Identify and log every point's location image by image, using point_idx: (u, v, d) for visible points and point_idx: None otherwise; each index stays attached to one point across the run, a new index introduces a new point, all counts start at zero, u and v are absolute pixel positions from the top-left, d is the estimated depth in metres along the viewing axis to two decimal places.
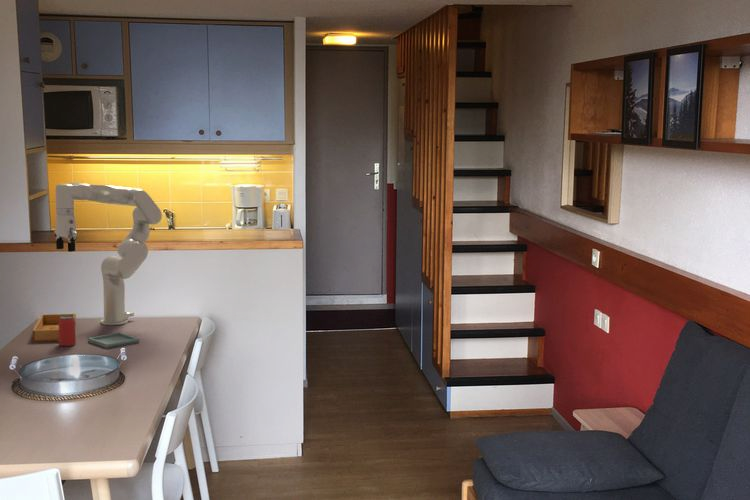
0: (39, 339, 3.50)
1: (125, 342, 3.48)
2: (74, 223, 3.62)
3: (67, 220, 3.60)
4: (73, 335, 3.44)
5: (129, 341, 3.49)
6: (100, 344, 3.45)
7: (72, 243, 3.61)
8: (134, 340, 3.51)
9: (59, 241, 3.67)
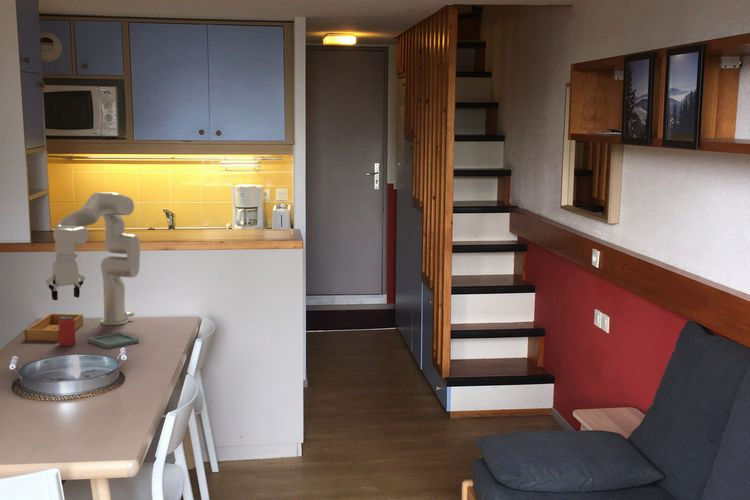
0: (31, 338, 3.51)
1: (125, 342, 3.48)
2: None
3: None
4: (73, 335, 3.44)
5: (129, 341, 3.49)
6: (100, 344, 3.45)
7: None
8: (134, 340, 3.51)
9: None
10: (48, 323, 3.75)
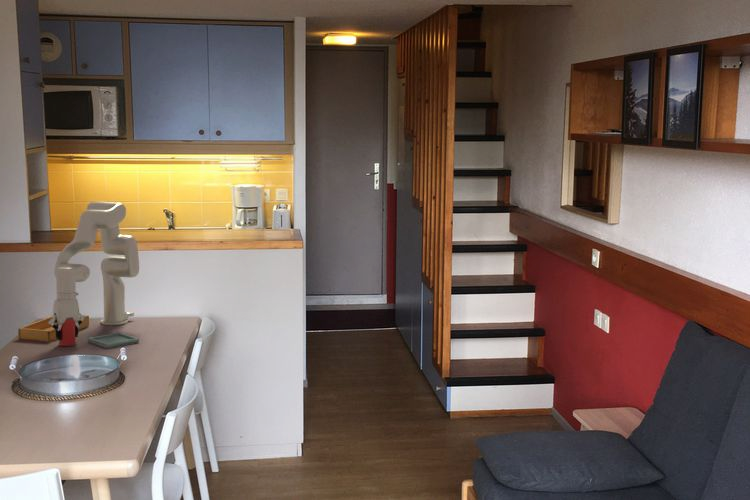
0: (24, 337, 3.52)
1: (125, 342, 3.48)
2: None
3: None
4: (73, 335, 3.44)
5: (129, 341, 3.49)
6: (100, 344, 3.45)
7: None
8: (134, 340, 3.51)
9: None
10: None
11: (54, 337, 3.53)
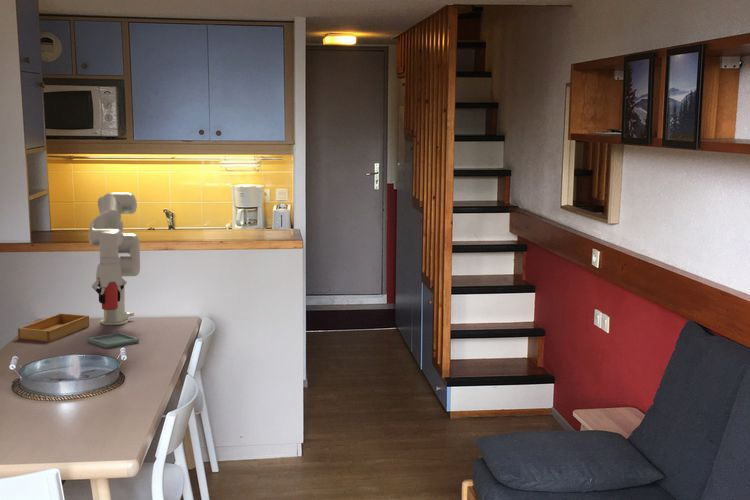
0: (23, 337, 3.52)
1: (125, 342, 3.48)
2: None
3: (120, 267, 3.50)
4: (116, 299, 3.48)
5: (129, 341, 3.49)
6: (100, 344, 3.45)
7: None
8: (134, 340, 3.51)
9: None
10: (55, 322, 3.77)
11: (53, 337, 3.53)
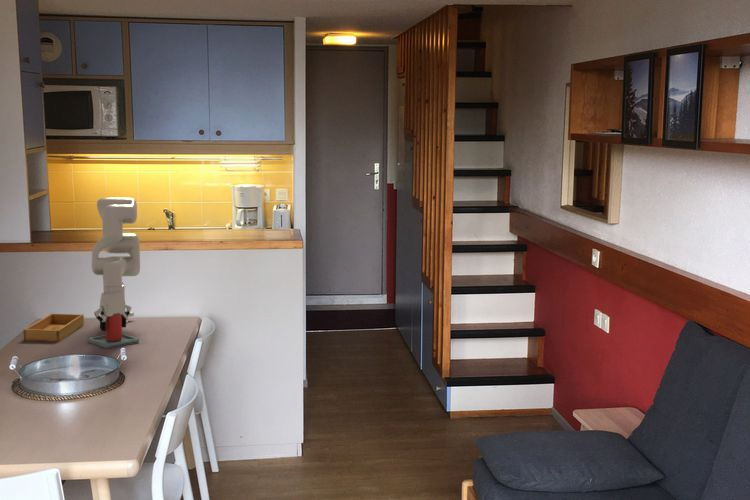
0: (30, 338, 3.51)
1: (125, 342, 3.48)
2: None
3: (124, 296, 3.52)
4: (120, 331, 3.50)
5: (129, 341, 3.49)
6: (100, 344, 3.45)
7: None
8: (134, 340, 3.51)
9: None
10: (49, 323, 3.76)
11: (61, 336, 3.54)
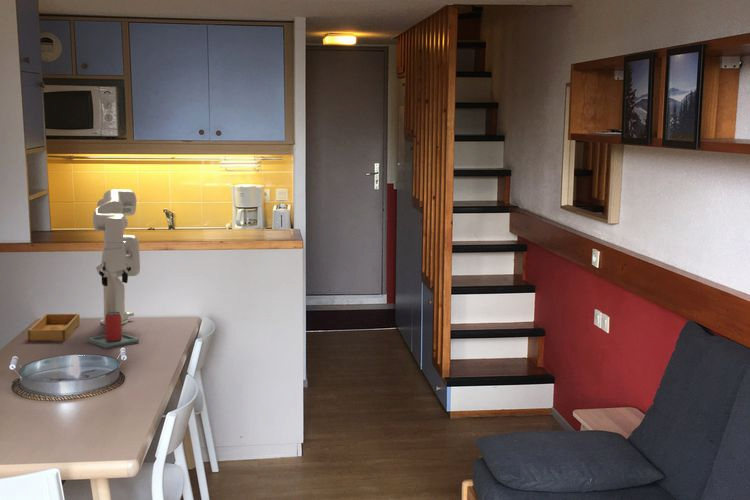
0: (34, 339, 3.50)
1: (125, 342, 3.48)
2: None
3: (125, 252, 3.56)
4: (119, 331, 3.50)
5: (129, 341, 3.49)
6: (100, 344, 3.45)
7: None
8: (134, 340, 3.51)
9: None
10: (45, 323, 3.75)
11: (66, 336, 3.55)
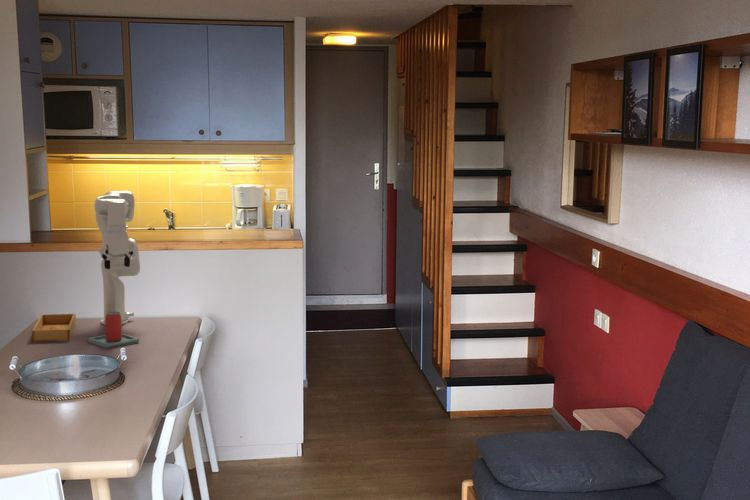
0: (39, 339, 3.50)
1: (125, 342, 3.48)
2: None
3: None
4: (119, 331, 3.50)
5: (129, 341, 3.49)
6: (100, 344, 3.45)
7: None
8: (134, 340, 3.51)
9: None
10: (42, 324, 3.74)
11: (70, 335, 3.56)
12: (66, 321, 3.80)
